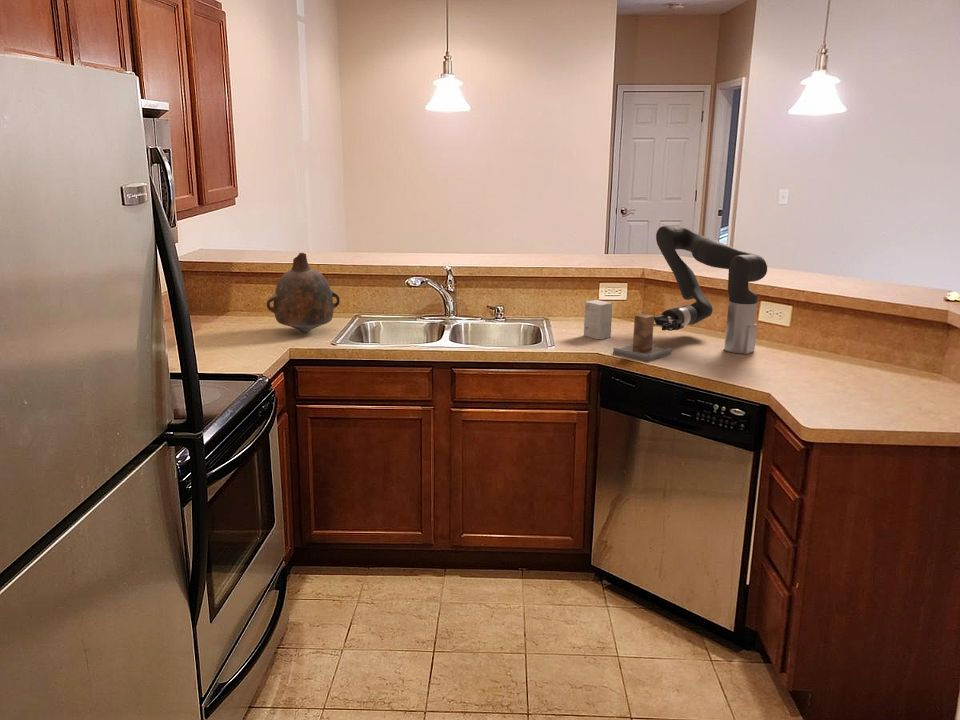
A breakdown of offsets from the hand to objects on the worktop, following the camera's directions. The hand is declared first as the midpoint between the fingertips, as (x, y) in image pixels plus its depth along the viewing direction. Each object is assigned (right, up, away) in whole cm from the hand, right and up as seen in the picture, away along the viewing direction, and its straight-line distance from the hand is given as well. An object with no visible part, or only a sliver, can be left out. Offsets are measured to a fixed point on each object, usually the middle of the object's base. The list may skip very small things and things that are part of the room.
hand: (651, 325), depth 268 cm
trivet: (-3, -10, 0) cm, 10 cm away
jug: (-124, -2, +24) cm, 126 cm away
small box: (-15, -3, +23) cm, 28 cm away
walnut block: (-3, -8, 0) cm, 9 cm away
